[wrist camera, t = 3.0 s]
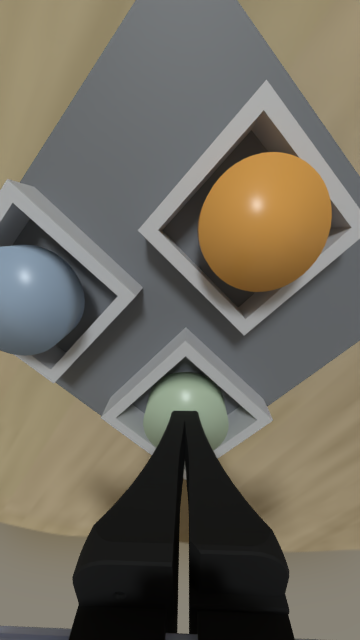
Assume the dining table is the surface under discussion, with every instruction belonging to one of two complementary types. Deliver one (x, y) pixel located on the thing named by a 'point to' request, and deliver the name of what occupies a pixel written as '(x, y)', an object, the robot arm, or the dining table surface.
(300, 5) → the dining table surface
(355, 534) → the dining table surface
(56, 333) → the button blue
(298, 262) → the button orange
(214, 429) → the button sage
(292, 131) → the control board
